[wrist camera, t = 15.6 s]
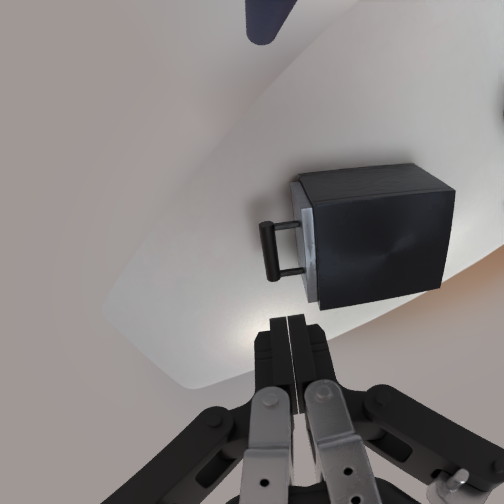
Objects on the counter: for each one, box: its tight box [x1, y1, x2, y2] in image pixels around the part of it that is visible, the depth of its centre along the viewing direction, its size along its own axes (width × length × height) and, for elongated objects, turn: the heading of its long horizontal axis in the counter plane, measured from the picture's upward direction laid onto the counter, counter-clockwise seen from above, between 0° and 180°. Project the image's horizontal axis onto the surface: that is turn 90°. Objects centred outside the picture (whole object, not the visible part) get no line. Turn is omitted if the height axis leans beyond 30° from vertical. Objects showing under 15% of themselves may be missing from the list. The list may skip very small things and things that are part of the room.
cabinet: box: [298, 164, 456, 311], centre depth 35 cm, size 16×13×10 cm
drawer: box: [259, 181, 318, 303], centre depth 36 cm, size 19×12×8 cm, turn 99°
